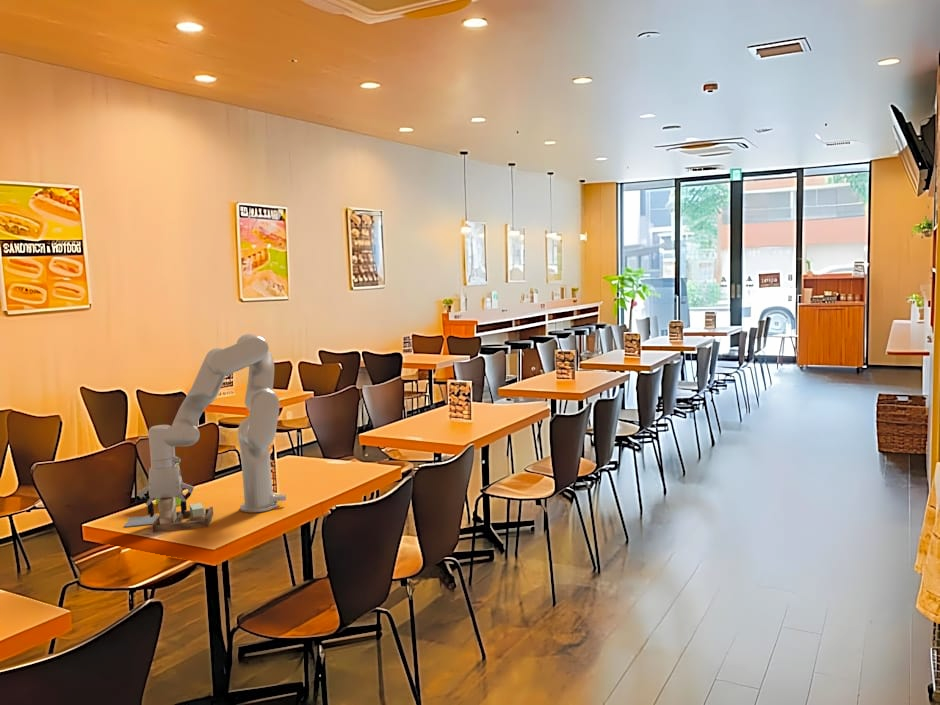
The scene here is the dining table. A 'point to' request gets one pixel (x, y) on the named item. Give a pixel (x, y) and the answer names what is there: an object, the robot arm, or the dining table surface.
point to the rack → (183, 525)
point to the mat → (140, 521)
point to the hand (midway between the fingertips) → (167, 514)
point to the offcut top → (196, 510)
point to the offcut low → (198, 517)
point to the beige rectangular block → (167, 510)
